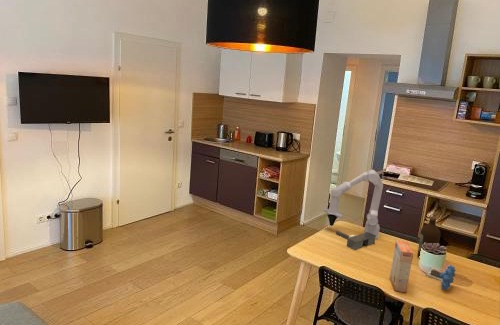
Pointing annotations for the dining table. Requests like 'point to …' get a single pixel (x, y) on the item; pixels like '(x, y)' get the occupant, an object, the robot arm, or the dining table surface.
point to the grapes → (447, 277)
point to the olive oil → (429, 234)
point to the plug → (343, 235)
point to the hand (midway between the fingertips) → (331, 225)
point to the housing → (361, 240)
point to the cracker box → (401, 266)
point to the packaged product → (438, 272)
